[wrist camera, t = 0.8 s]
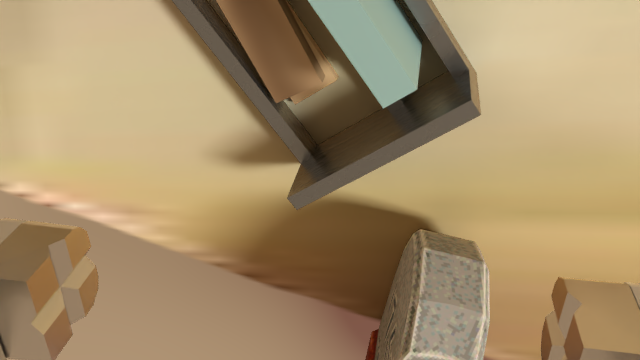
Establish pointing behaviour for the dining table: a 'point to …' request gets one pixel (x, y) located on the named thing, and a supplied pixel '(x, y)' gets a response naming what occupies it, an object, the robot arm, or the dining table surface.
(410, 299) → the decorative stone tablet
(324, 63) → the offcut oak
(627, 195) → the dining table surface
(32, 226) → the robot arm
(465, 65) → the offcut rack
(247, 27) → the offcut walnut
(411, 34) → the teal sheet
